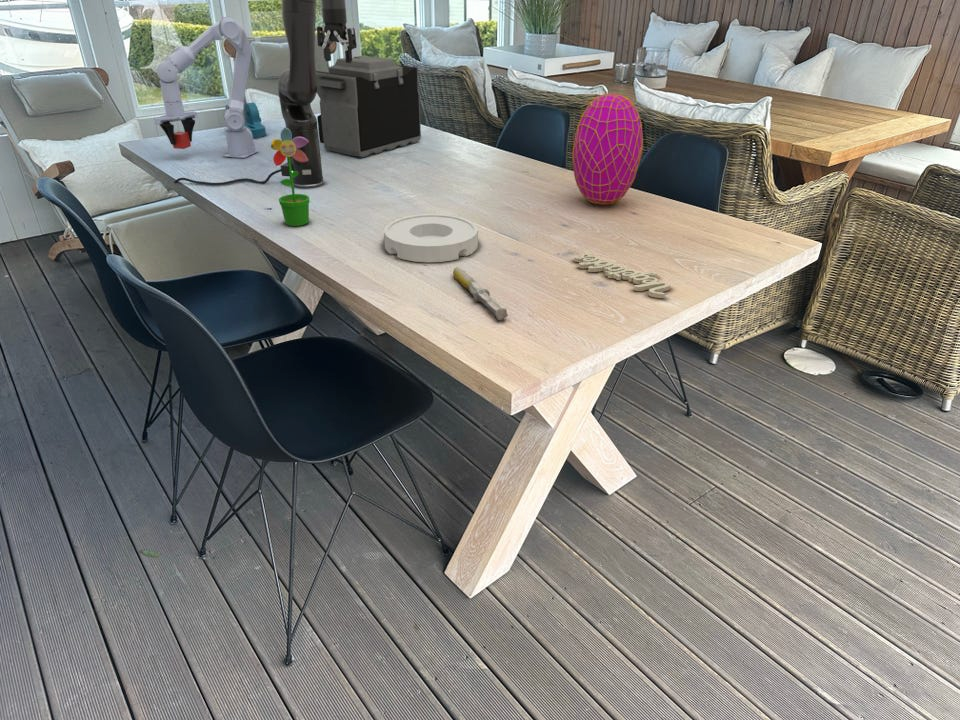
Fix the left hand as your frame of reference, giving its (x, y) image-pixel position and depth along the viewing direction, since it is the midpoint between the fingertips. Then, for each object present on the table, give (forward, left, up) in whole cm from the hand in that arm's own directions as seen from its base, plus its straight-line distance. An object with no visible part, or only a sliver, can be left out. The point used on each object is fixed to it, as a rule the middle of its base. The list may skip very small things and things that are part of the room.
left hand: (181, 142), depth 236 cm
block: (0, 0, -2) cm, 2 cm away
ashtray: (+57, +106, -6) cm, 121 cm away
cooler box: (-36, +55, -6) cm, 66 cm away
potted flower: (+50, +67, -6) cm, 84 cm away
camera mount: (-42, +1, -6) cm, 42 cm away
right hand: (-18, +53, +26) cm, 61 cm away
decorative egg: (+11, +145, -6) cm, 146 cm away
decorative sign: (+64, +154, -6) cm, 167 cm away
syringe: (+83, +125, -6) cm, 150 cm away
